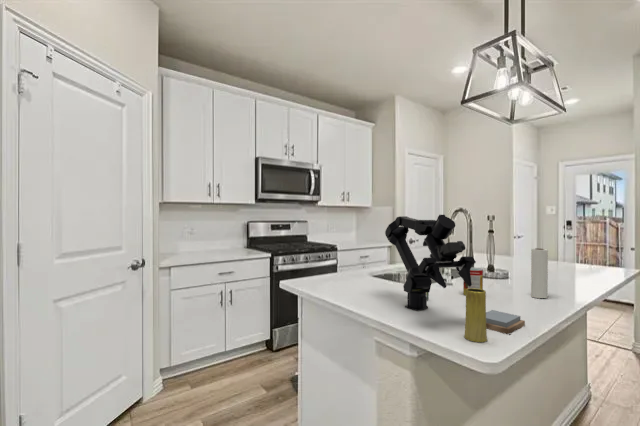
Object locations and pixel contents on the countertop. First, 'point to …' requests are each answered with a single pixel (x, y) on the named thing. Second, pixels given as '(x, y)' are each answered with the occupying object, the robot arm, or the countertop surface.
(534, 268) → the grey cylinder
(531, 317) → the countertop surface
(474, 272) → the canned food
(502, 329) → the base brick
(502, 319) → the top brick
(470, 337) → the vase
